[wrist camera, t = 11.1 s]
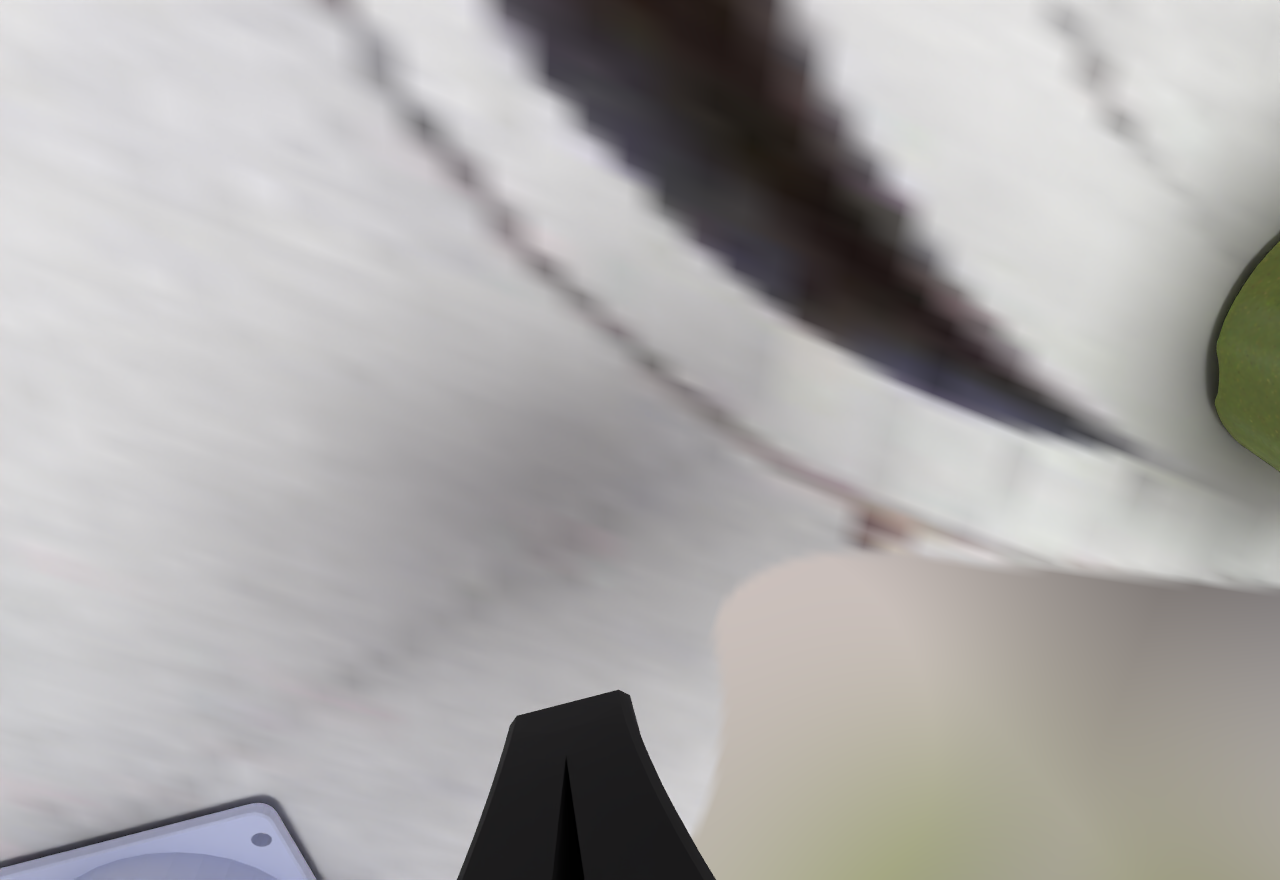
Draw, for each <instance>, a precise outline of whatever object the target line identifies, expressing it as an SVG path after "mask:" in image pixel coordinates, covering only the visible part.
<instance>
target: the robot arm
mask: <svg viewBox="0 0 1280 880" xmlns="http://www.w3.org/2000/svg"><path fill="white" fill-rule="evenodd" d="M263 833H265V834H263ZM0 880H316V878H315V876H314V874H313V873H312V871H311V869H310V868H309V866H308V864H307V863H306V861H305V859H304V857H303V856H302V854H301V852H300V851H299V849H298V847H297V846H296V844H295V842H294V840H293V839H292V837H291V835H290V834H289V832H288V830H287V829H286V827H285V825H284V823H283V822H282V820H281V818H280V817H279V815H278V813H277V812H276V811H275V809H274V808H273V807H271V806H269V805H267V804H264V803H252V804H248V805H244V806H240V807H236V808H232V809H228V810H225V811H221V812H217V813H213V814H209V815H205V816H201V817H197V818H194V819H190V820H186V821H182V822H178V823H174V824H170V825H166V826H163V827H159V828H155V829H151V830H147V831H143V832H139V833H135V834H132V835H128V836H124V837H120V838H116V839H112V840H108V841H104V842H101V843H97V844H93V845H89V846H85V847H81V848H77V849H73V850H70V851H66V852H62V853H58V854H54V855H50V856H46V857H42V858H39V859H35V860H31V861H27V862H23V863H19V864H15V865H11V866H8V867H4V868H0ZM457 880H716V879H715V878H714V876H713V874H712V872H711V871H710V869H709V868H708V866H707V864H706V863H705V861H704V859H703V858H702V856H701V854H700V853H699V851H698V849H697V847H696V845H695V844H694V842H693V840H692V838H691V837H690V835H689V833H688V831H687V829H686V828H685V826H684V824H683V822H682V820H681V819H680V817H679V815H678V813H677V812H676V810H675V808H674V806H673V804H672V802H671V801H670V799H669V797H668V795H667V793H666V791H665V789H664V787H663V785H662V783H661V781H660V779H659V776H658V774H657V772H656V770H655V768H654V766H653V763H652V761H651V759H650V757H649V755H648V752H647V750H646V747H645V745H644V742H643V740H642V738H641V735H640V731H639V727H638V724H637V720H636V716H635V713H634V709H633V705H632V701H631V698H630V695H628V694H626V693H624V692H622V691H620V690H616V691H612V692H608V693H604V694H600V695H596V696H592V697H589V698H585V699H581V700H577V701H573V702H569V703H565V704H561V705H557V706H554V707H550V708H546V709H542V710H538V711H534V712H530V713H526V714H522V715H519V716H517V717H516V718H515V719H514V721H513V722H512V724H511V725H510V727H509V731H508V735H507V738H506V742H505V745H504V749H503V752H502V755H501V758H500V762H499V765H498V768H497V771H496V774H495V777H494V780H493V783H492V786H491V789H490V792H489V795H488V798H487V801H486V804H485V807H484V810H483V812H482V815H481V818H480V821H479V824H478V827H477V829H476V832H475V835H474V837H473V840H472V843H471V845H470V848H469V850H468V853H467V855H466V858H465V861H464V863H463V866H462V868H461V871H460V874H459V876H458V879H457Z"/></svg>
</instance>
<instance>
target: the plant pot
mask: <svg viewBox="0 0 1280 880" xmlns="http://www.w3.org/2000/svg"><path fill="white" fill-rule="evenodd" d="M1216 351H1217V357H1218V362H1219V387H1218V394H1217V396H1216V399H1215V407H1216V410H1217V413H1218V416H1219V418H1220V420H1221V422H1222V424H1223V425H1224V427H1225V428H1226V429H1227V431H1228V432H1229V433H1230V434H1231V436H1232V437H1233V438H1234V439H1235V440H1236V441H1237V442H1238V443H1240V444H1241V445H1242V446H1244V447H1245V448H1247V449H1248V450H1249V451H1251V452H1252V453H1254V454H1255V455H1256V456H1258V457H1259V458H1261V459H1262V460H1264V461H1265V462H1266V463H1268V464H1269V465H1271V466H1272V467H1274V468H1275V469H1276V470H1278V471H1279V472H1280V242H1278V243H1277V244H1276V245H1275V246H1274V247H1273V249H1272V250H1271V251H1270V252H1269V253H1268V254H1267V255H1266V256H1265V257H1264V258H1263V260H1262V261H1261V262H1260V263H1259V264H1258V265H1257V267H1256V268H1255V270H1254V271H1253V272H1252V274H1251V275H1250V277H1249V278H1248V279H1247V281H1246V282H1245V284H1244V285H1243V287H1242V289H1241V290H1240V292H1239V294H1238V295H1237V297H1236V298H1235V300H1234V302H1233V304H1232V306H1231V308H1230V310H1229V312H1228V314H1227V316H1226V318H1225V320H1224V323H1223V326H1222V329H1221V332H1220V335H1219V338H1218V341H1217V348H1216Z"/></svg>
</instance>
